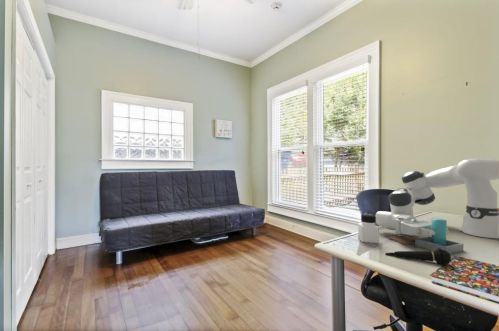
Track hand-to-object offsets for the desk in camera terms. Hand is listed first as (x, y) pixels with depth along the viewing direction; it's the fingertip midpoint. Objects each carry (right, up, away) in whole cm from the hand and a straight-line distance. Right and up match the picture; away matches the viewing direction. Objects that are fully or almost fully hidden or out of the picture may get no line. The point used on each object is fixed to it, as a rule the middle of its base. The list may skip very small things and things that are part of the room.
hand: (441, 231), depth 102 cm
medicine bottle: (-26, -7, +10) cm, 28 cm away
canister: (0, -7, +1) cm, 7 cm away
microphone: (-18, -7, -12) cm, 23 cm away
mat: (-8, -7, +12) cm, 16 cm away
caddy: (0, -7, +1) cm, 7 cm away
